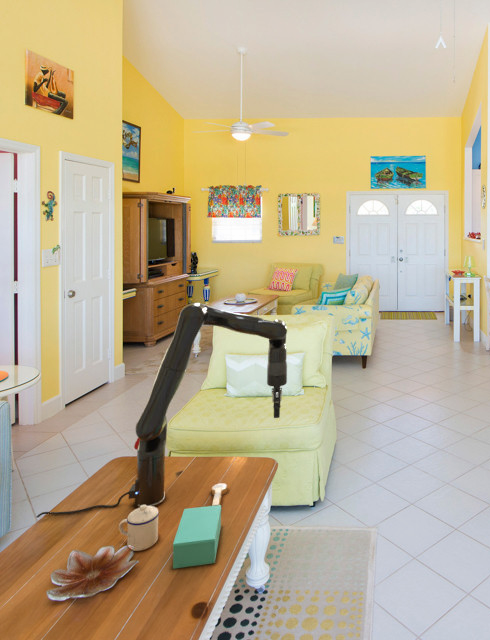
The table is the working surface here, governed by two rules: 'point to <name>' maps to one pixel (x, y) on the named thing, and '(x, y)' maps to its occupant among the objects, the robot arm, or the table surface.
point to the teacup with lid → (141, 527)
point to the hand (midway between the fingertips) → (276, 413)
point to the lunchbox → (196, 552)
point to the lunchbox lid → (198, 525)
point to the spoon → (218, 493)
